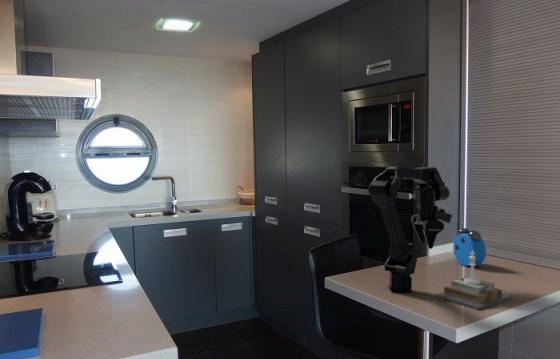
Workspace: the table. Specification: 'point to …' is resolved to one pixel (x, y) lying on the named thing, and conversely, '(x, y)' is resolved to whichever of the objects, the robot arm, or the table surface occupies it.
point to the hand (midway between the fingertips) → (426, 245)
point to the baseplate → (472, 304)
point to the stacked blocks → (473, 291)
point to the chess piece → (472, 271)
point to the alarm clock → (469, 247)
